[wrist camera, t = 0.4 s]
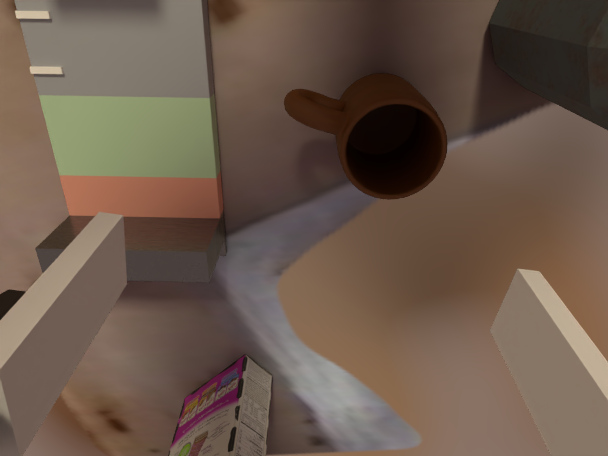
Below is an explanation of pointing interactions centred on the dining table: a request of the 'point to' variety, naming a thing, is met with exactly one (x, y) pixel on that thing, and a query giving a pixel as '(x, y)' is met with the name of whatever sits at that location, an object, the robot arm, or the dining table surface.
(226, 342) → the dining table surface
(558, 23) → the bottle
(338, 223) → the dining table surface
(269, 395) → the candy bar box
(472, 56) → the dining table surface
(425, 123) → the mug
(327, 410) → the dining table surface
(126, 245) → the grey block
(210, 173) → the track
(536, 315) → the robot arm
